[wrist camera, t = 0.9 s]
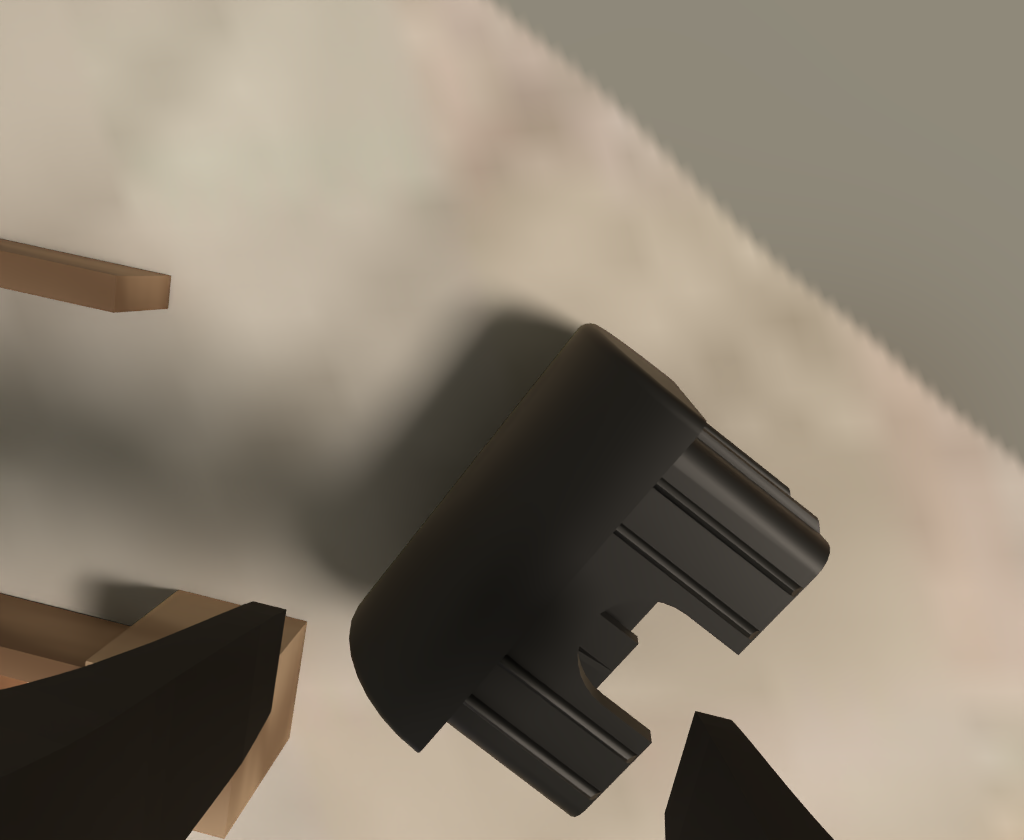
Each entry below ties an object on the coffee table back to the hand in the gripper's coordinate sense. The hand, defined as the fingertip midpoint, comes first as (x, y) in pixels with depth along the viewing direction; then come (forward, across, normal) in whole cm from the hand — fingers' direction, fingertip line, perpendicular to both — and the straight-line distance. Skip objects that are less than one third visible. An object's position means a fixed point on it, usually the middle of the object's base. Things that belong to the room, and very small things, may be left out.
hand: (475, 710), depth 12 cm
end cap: (+10, -1, 0) cm, 10 cm away
